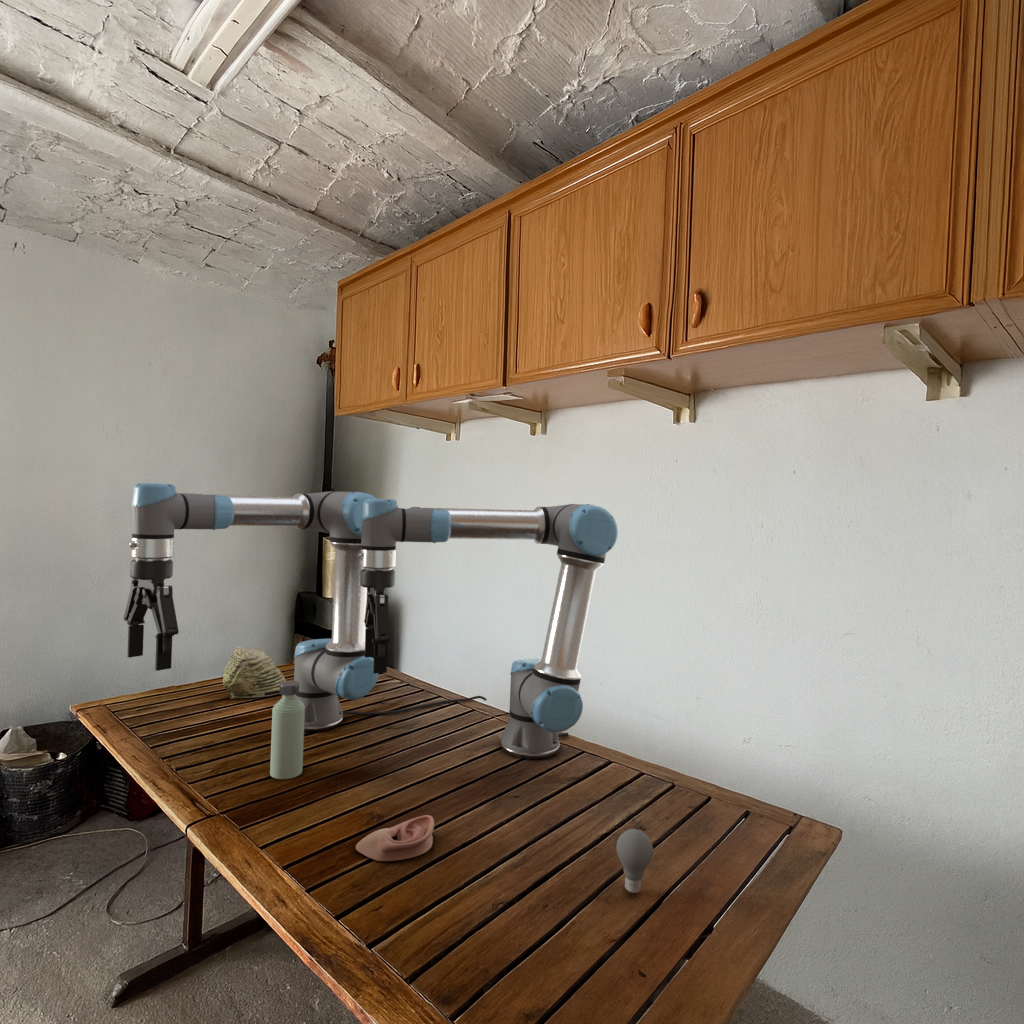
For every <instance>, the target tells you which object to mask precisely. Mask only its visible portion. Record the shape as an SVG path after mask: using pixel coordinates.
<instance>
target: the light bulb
mask: <svg viewBox="0 0 1024 1024" xmlns="http://www.w3.org/2000/svg"><path fill="white" fill-rule="evenodd" d="M615 849H616V854H617V857H618V859H619V861H620V863H621V865H622V867H623V873H624V874H623V875H624V876H625V878H624V888H625V890H627V891H628V892H630V893H634V894H635V893H639V892H640V891H641V889H642V887H641V886H642V879H643V877H644V875H645V871H646V868H647V867H648V866H649V864H650V863H651V861H652V859H653V855H654V847H653V843H652V841H651V838H649V836H648V835H647V834H646V833H645V832H643V831H642V830H641V829H636V828H629V829H627V830H625V831H623V832H622V833H621V834H620V835H619V837H618V839H617V841H616V847H615Z"/></svg>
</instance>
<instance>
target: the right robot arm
mask: <svg viewBox="0 0 1024 1024" xmlns="http://www.w3.org/2000/svg"><path fill="white" fill-rule="evenodd" d="M618 529H619V528H618V524H617V521H616V519H615V518H614V516H613V515H612V513H611V512H610V511H609V510H607V509H606V508H604V507H602V506H600V505H596V504H589V503H585V504H583V503H581V504H580V503H569V504H561V505H554V506H553V505H552V506H536V507H535V508H534V509H533V510H529V509H528V510H527V509H491V508H490V509H488V508H450V507H447V508H446V507H437V508H436V507H419V506H411V507H408V508H404V507H403V508H402V507H399V506H398V501H397V500H396V499H395V498H393V499H392V498H391V499H390V498H377V499H367V500H365V501H364V503H363V510H362V530H361V545H362V546H361V552H362V553H360V554H358V557H359V558H361V566H362V567H363V568H364V569H362V570H361V571H360V585H361V586H362V587H365V588H367V602H366V611H365V620H364V622H365V626H366V630H365V657H371V658H373V659H374V666H373V673H379V674H387V672H388V645H389V644H388V642H390V641H391V637H390V620H389V595H388V594H386V590H385V589H387V588H393V587H395V585H396V571H395V570H394V568H395V567H397V566H396V565H397V563H396V561H397V543H433V544H436V543H447V542H448V541H449V540H450V539H453V540H454V539H455V540H510V541H511V540H513V541H514V540H515V541H518V540H519V541H523V540H524V541H533V542H534V543H535V544H537V545H550V546H556V547H557V550H556V557H557V558H558V559H559V561H560V568H559V572H558V577H557V583H556V586H555V592H554V597H553V602H552V608H551V612H550V617H549V621H548V625H547V626H548V627H547V632H546V636H545V640H544V641H545V642H544V646H543V650H542V656H541V658H522V659H521V658H520V659H516V660H514V661H513V662H512V664H511V670H510V673H509V674H510V689H509V690H510V691H509V712H508V713H509V715H508V719H507V722H506V725H505V728H504V730H503V733H502V735H501V739H500V748H501V749H502V751H503V752H504V753H506V754H507V755H509V756H513V757H515V758H519V759H525V760H526V759H527V760H542V759H548V758H551V757H553V756H556V755H557V754H558V753H559V752H560V744H561V743H560V738H563V737H569V732H567V731H568V730H569V729H571V728H572V727H574V726H575V725H576V724H577V723H578V721H579V720H580V718H581V716H582V713H583V710H584V703H583V699H582V696H581V694H580V692H579V689H580V684H581V680H582V675H581V673H580V672H579V669H578V663H579V658H580V653H581V647H582V643H583V638H584V632H585V627H586V623H587V618H588V617H587V616H588V613H589V608H590V603H591V597H592V592H593V588H594V583H595V578H596V572H597V570H599V569H600V568H601V567H603V566H604V565H605V561H606V556H607V554H608V553H609V552H610V551H611V550H612V549H613V548H614V547H615V545H616V543H617V540H618V535H619V530H618Z"/></svg>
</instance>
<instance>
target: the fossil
mask: <svg viewBox="0 0 1024 1024" xmlns="http://www.w3.org/2000/svg"><path fill="white" fill-rule="evenodd" d="M222 676H223V677H222V685H223V687H224V688H225V690H226V691H228V693H229V698H230V699H250V698H264V697H271V696H275V695H281V694H280V693H279V692H280V683H281V682H284V681H287V680H286V678H285V676H284V674H283V673H282V672H281V669H279V668H278V667H277V665H276V663H275V662H274V660H273V659H272V658H271V657H270V656H269V655H268V654H267V653H266V652H265V650H264V649H263V648H260V647H258V648H251V647H247V646H246V647H245V646H238V647H237V648H236V649H235V650H233V651H232V653H231V656H230V657H229V659H228V660H227V663H226V666H225V668H224V671H223V675H222Z"/></svg>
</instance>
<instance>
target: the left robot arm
mask: <svg viewBox="0 0 1024 1024" xmlns="http://www.w3.org/2000/svg"><path fill="white" fill-rule="evenodd" d="M367 499H378V498H377V497H375V495H373V494H370V493H367V492H363V491H362V492H361V491H337V490H336V491H335V490H333V491H332V490H330V491H321V492H311V493H295V494H294V495H293V496H276V495H275V496H274V495H273V496H272V495H248V494H247V495H246V494H244V495H243V494H220V493H219V494H218V493H217V494H216V493H215V494H214V493H189V492H187V493H186V492H177V491H176V486H175V485H174V484H173V483H152V482H139V483H137V484H136V485H135V486H134V488H133V492H132V501H131V520H132V521H131V542H130V543H128V547H129V548H130V549H131V550H130V556H131V558H133V559H132V560H131V561H130V567H129V568H130V571H129V574H130V575H129V576H130V578H131V581H130V590H129V594H128V598H127V603H126V607H125V610H124V615H123V621H124V622H126V624H127V626H128V629H127V630H128V631H127V658H135V657H142V656H144V635H145V634H144V630H145V625H144V624H145V623H146V621H145V619H144V618H145V616H146V615H147V612H148V609H149V610H151V613H152V618H153V620H154V624H155V627H156V631H157V633H156V635H155V636H154V638H155V661H154V663H155V665H154V668H155V669H154V670H155V671H157V672H159V671H164V670H169V669H172V659H173V657H172V655H173V637H175V636H176V635H179V632H180V631H179V625H178V619H177V615H176V614H177V613H176V609H175V603H174V597H173V595H174V593H173V585H165V580H167V579H171V578H172V577H173V575H174V573H173V572H174V561H173V560H172V559H171V558H173V557H174V554H175V553H174V552H175V530H213V531H215V530H224V529H228V528H230V526H233V527H234V526H237V527H238V526H240V527H243V526H246V527H247V526H249V527H250V526H258V527H259V526H268V527H269V526H276V527H277V526H282V527H284V526H285V527H286V526H287V527H288V526H289V527H290V526H291V527H293V528H294V529H296V530H308V531H309V530H310V531H316V532H319V533H325V534H329V544H330V545H331V546H332V547H333V548H334V550H335V551H334V572H333V573H334V577H333V599H332V625H331V626H332V627H331V638H317V639H308V640H304V641H300V642H299V643H297V645H296V646H295V650H294V655H293V657H294V672H293V673H294V674H293V681H298V682H299V693H298V694H296V697H297V699H299V700H300V701H301V702H302V703H303V704H304V706H305V716H304V733H316V732H325V731H329V730H332V729H335V728H337V727H339V726H340V725H342V723H343V722H344V715H356V716H381V715H390V714H391V715H392V714H397V713H403V712H408V711H409V712H410V711H414V710H418V709H422V708H427V707H431V706H437V705H443V704H449V703H457V702H458V703H459V702H468V701H472V700H473V701H474V700H477V699H481V700H483V701H484V702H485V701H488V699H487V698H486V697H484V696H483V695H476V696H471V697H465V698H455V699H446V700H440V701H439V700H438V701H434V702H430V703H425V704H420V705H416V706H412V707H407V708H401V709H395V710H386V711H371V712H370V711H369V712H368V711H367V712H366V711H365V712H361V711H352V710H351V711H349V710H343V709H342V706H341V702H340V699H339V698H341V699H342V700H343V699H344V700H348V701H349V700H350V701H357V700H360V699H362V698H364V697H365V696H367V695H368V694H370V692H371V690H372V689H374V687H375V685H376V683H377V682H378V678H379V674H380V673H373V666H374V657H365V630H366V629H367V628H366V626H365V622H364V620H365V611H366V602H367V588H365V587H362V586H361V585H360V571H361V570H362V569H364V568H363V567H362V566H361V558H359V557H358V554H360V553H362V552H361V546H362V545H361V530H362V510H363V503H364V501H365V500H367Z"/></svg>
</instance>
